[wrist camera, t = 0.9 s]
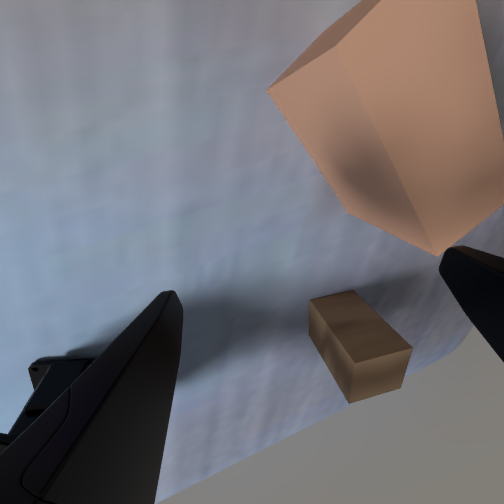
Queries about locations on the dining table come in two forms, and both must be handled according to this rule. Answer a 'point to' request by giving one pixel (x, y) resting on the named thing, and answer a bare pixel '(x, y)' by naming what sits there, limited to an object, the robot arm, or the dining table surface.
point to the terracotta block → (402, 117)
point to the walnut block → (357, 346)
